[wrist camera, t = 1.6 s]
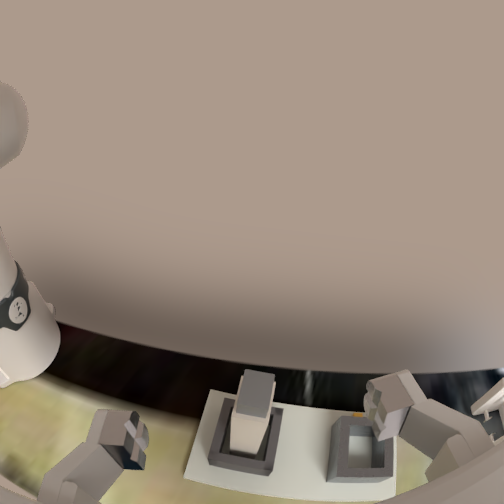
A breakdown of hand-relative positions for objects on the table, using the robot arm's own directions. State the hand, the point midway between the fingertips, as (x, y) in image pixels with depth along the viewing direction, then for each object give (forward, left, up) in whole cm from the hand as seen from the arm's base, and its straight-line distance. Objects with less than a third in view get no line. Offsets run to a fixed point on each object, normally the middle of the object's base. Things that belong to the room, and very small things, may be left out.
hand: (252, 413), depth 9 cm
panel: (+7, +7, -29) cm, 30 cm away
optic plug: (0, +7, -28) cm, 29 cm away
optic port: (+14, +7, -28) cm, 32 cm away
